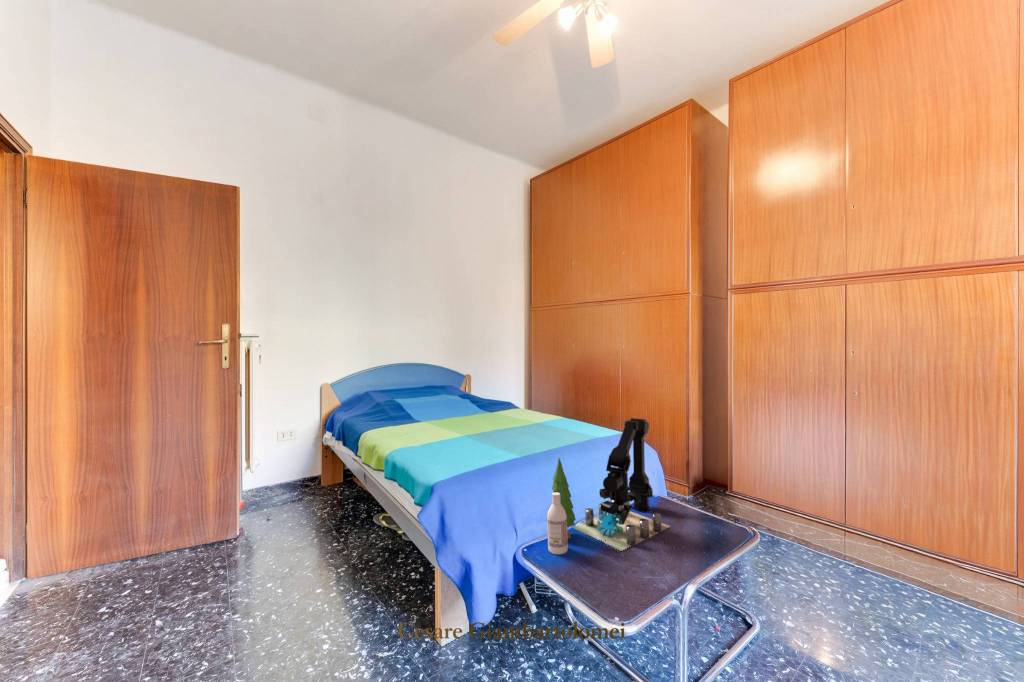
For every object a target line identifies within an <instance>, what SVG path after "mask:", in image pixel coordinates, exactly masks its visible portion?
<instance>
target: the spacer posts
mask: <svg viewBox="0 0 1024 682" xmlns="http://www.w3.org/2000/svg"><path fill="white" fill-rule="evenodd" d="M611 502H614V500H611ZM601 503H602V502H600V503H598V517H599V516H600V515H601V516H602V517H603V518H604V514H603V512H604V511H602V510H601V509H600V504H601ZM584 511H585V522H586V526H589V527H592V526H594V518H595V517H594V509H593V508H591V507H590V508H585V510H584ZM606 516H607V514H606ZM614 516H617V515H614ZM651 516H652V517H651V519H652V521H653V531H654V532H660V533H662V532H663V531H662V527H661V523H662V515H661V514H660V513H657V512H656V513H655V512H653V513H652V515H651ZM599 520H601V519H600V518H599ZM601 521H602V520H601ZM640 537H641V538H643V539H646V540H648V539H650V538H649V521H648V520H647V519H640ZM626 540H627V544H628V545H630V546H632V547H634V546H636V545H637V544H636V535H635V526H633V525H627V526H626Z"/></svg>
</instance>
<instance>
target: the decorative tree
mask: <svg viewBox="0 0 1024 682" xmlns="http://www.w3.org/2000/svg"><path fill="white" fill-rule="evenodd" d="M557 458H558V459H557V465H556V469H555V472H554V475H553V478H552V480H553V483H552V488H551V490H553V492H552V493H554V492H558V493H560V503H561V505H562V507H563V508H564V510H565V512H566V516H567V540H569V538H570V539H572V535H571V533H570V532H569V531H568V528H570V527H574V525H575V526H576V524H575V521H576V520H577V519H576V515H575V512H574V511H573V509H574V504H573V503H572V500H571V498H572V494H571V492H570V489H569V487H570V485H569V483H568V481H567V480H568V479H567V477H566V474H565V472H564V469H563V464H562V461H561V459H560V457H557Z"/></svg>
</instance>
